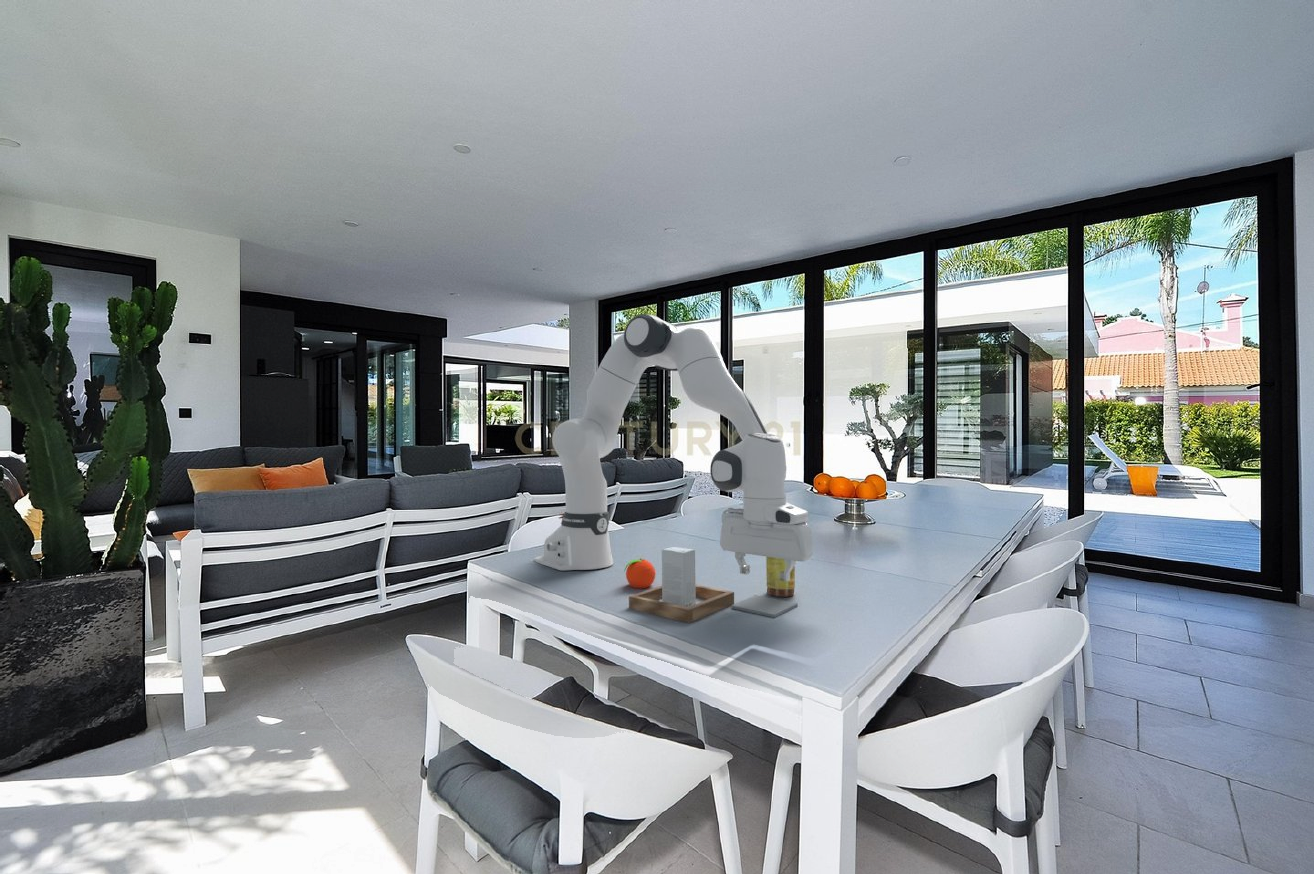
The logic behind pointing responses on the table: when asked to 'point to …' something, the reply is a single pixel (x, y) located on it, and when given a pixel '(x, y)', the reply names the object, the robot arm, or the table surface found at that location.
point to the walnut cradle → (685, 614)
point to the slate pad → (764, 606)
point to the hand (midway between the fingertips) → (764, 577)
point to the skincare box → (678, 576)
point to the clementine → (640, 573)
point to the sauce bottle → (773, 578)
